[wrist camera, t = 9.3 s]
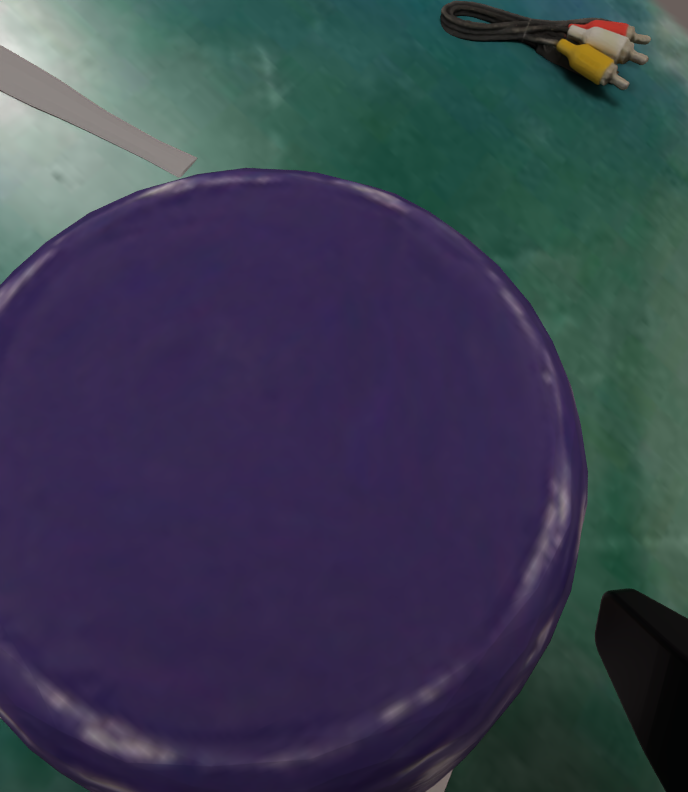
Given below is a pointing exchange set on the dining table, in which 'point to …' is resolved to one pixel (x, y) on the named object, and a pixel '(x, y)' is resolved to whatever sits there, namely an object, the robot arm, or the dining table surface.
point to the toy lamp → (275, 490)
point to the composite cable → (554, 39)
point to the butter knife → (84, 112)
